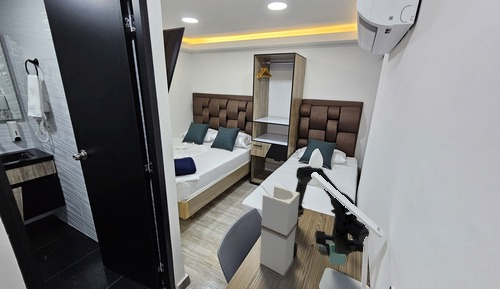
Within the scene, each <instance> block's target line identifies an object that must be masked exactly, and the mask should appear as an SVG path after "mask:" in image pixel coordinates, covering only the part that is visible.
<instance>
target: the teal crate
mask: <svg viewBox="0 0 500 289" xmlns="http://www.w3.org/2000/svg"><path fill="white" fill-rule="evenodd" d="M329 245H330V248H329V250H330V254H329V256H328V255H327V256H328V262H329V264H333V265H335V266H337V265H338V266H342V267H345V266H346V260H347V259H346V258H347V257H346V255H345V254H341V253H336V252H335V245H334V244H329Z"/></svg>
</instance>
